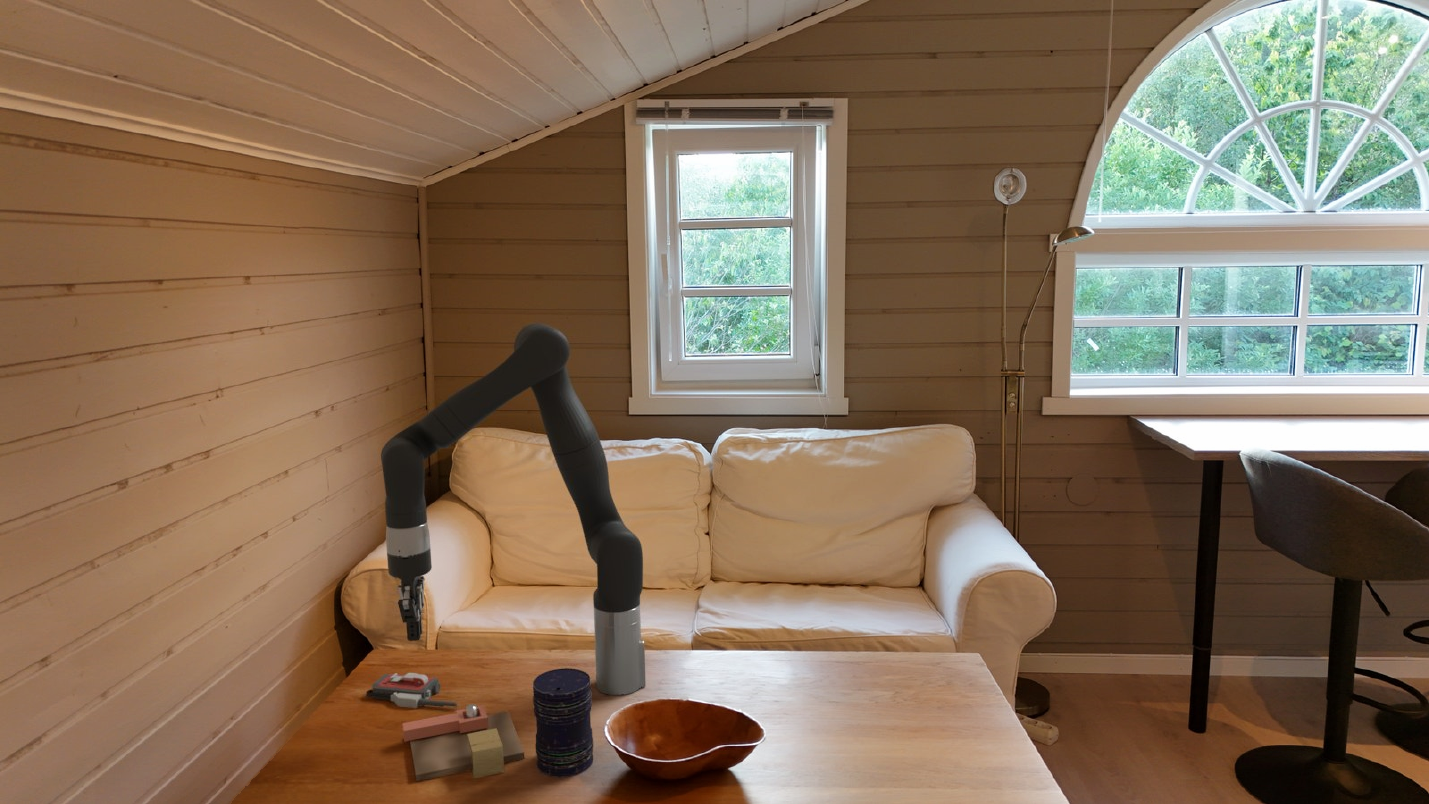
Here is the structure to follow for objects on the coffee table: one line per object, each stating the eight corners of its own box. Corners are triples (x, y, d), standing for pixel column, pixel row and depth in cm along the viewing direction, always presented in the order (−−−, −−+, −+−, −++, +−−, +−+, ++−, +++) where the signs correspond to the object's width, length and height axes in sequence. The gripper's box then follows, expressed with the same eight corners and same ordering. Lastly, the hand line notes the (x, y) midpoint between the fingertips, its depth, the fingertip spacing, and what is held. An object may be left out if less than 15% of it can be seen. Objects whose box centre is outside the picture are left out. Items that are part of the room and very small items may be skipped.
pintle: (477, 728, 176) (475, 703, 175) (478, 733, 174) (477, 707, 173) (467, 730, 175) (465, 705, 174) (468, 735, 173) (466, 709, 173)
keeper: (497, 753, 167) (496, 728, 166) (504, 772, 161) (502, 746, 160) (468, 759, 165) (467, 734, 164) (474, 778, 159) (472, 752, 158)
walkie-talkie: (360, 705, 186) (454, 714, 182) (358, 684, 185) (453, 693, 181) (384, 684, 195) (475, 693, 191) (382, 664, 194) (473, 672, 190)
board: (508, 716, 180) (508, 710, 180) (524, 758, 165) (524, 752, 165) (408, 736, 173) (408, 730, 173) (416, 781, 159) (416, 775, 158)
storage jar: (543, 746, 169) (539, 667, 167) (598, 746, 169) (595, 667, 166) (530, 778, 159) (526, 694, 157) (589, 778, 159) (585, 694, 156)
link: (484, 715, 178) (483, 705, 177) (488, 727, 173) (487, 717, 173) (402, 731, 172) (402, 720, 172) (404, 744, 168) (404, 733, 167)
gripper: (394, 537, 178) (400, 624, 181) (379, 561, 165) (386, 655, 168) (435, 534, 179) (441, 621, 182) (424, 558, 166) (430, 652, 169)
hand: (415, 637), depth 175 cm, fingers closed
